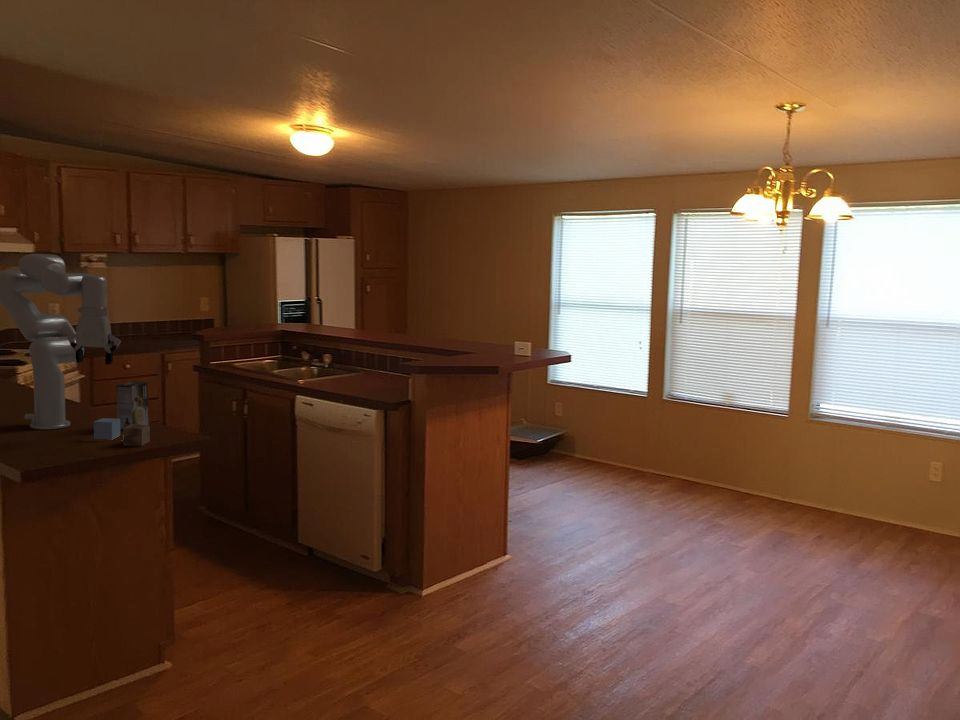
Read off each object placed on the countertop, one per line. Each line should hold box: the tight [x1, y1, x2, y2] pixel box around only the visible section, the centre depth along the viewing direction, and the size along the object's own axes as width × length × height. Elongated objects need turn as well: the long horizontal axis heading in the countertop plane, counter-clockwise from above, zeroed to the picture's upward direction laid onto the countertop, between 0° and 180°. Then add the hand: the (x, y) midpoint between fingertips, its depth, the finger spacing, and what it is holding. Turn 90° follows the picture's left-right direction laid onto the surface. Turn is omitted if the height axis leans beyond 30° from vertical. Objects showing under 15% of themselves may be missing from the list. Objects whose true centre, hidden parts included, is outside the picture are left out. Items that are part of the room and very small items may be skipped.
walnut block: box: [122, 424, 151, 447], centre depth 251 cm, size 6×6×6 cm
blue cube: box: [93, 417, 121, 440], centre depth 258 cm, size 6×6×6 cm
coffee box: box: [116, 381, 150, 430], centre depth 274 cm, size 9×6×16 cm
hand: (94, 363), depth 257 cm, fingers open, 9 cm apart
